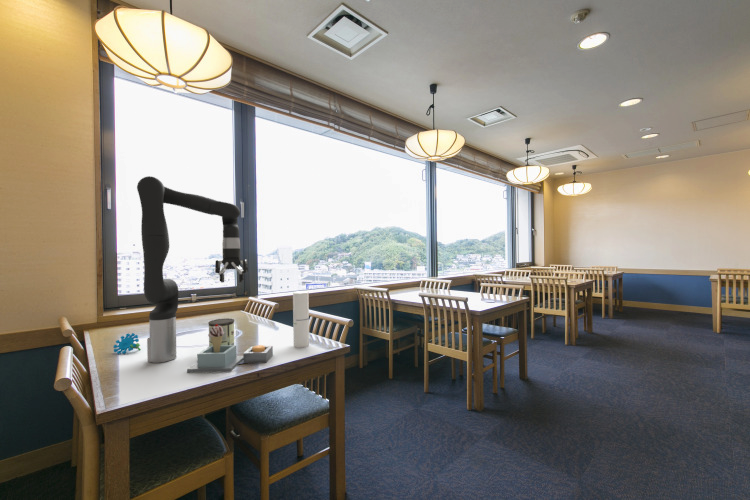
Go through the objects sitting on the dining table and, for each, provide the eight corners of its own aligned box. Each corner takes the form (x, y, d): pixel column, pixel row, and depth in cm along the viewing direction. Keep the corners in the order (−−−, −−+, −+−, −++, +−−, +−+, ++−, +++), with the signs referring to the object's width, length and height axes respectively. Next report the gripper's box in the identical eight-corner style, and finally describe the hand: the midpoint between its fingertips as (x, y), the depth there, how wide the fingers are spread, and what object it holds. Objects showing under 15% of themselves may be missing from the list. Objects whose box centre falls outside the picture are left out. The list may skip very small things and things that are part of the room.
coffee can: (209, 351, 144) (208, 319, 144) (234, 347, 148) (233, 317, 148) (208, 358, 135) (207, 324, 135) (235, 354, 139) (234, 322, 139)
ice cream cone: (206, 362, 126) (205, 324, 126) (219, 358, 131) (219, 321, 131) (214, 365, 123) (213, 326, 123) (228, 361, 128) (227, 323, 128)
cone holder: (187, 372, 119) (187, 355, 119) (206, 359, 133) (205, 344, 133) (230, 371, 120) (230, 355, 120) (244, 358, 134) (244, 343, 134)
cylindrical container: (305, 347, 147) (304, 293, 147) (290, 347, 149) (290, 293, 148) (311, 343, 154) (310, 291, 154) (297, 342, 156) (297, 291, 155)
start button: (250, 356, 131) (250, 349, 131) (254, 352, 135) (254, 345, 135) (262, 356, 131) (262, 348, 131) (266, 352, 136) (266, 345, 135)
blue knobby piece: (106, 350, 141) (123, 330, 148) (115, 356, 145) (130, 336, 152) (128, 355, 139) (144, 334, 146) (135, 361, 143) (151, 341, 150)
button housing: (243, 363, 128) (243, 353, 128) (251, 355, 137) (251, 346, 137) (266, 362, 129) (266, 352, 129) (272, 355, 138) (272, 345, 138)
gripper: (212, 247, 146) (212, 283, 146) (243, 247, 147) (244, 283, 147) (219, 247, 154) (220, 281, 154) (249, 247, 154) (250, 281, 154)
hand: (231, 282), depth 150 cm, fingers open, 8 cm apart
